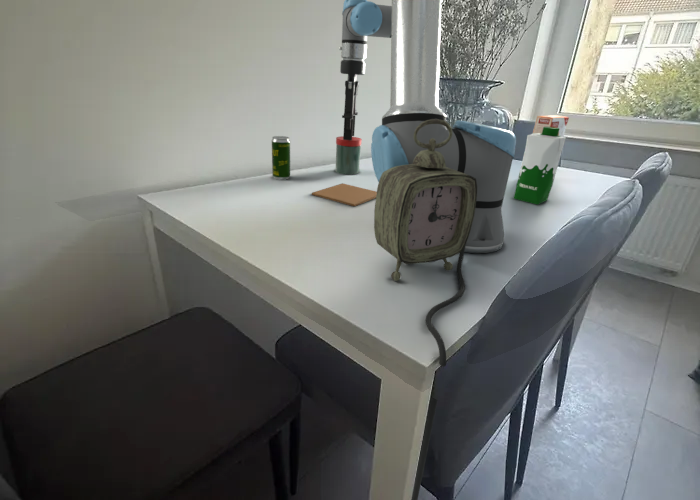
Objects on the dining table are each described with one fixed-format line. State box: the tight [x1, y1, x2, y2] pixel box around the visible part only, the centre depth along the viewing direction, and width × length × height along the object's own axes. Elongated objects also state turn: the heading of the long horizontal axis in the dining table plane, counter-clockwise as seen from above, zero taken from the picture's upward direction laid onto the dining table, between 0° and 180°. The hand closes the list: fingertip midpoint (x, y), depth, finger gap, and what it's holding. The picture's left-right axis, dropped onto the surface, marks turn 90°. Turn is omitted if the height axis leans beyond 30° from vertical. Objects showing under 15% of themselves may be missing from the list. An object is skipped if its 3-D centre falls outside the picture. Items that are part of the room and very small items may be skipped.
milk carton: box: [513, 127, 567, 206], centre depth 109 cm, size 9×9×20 cm
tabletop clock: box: [373, 119, 477, 282], centre depth 63 cm, size 14×9×25 cm, turn 115°
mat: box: [311, 182, 377, 207], centre depth 106 cm, size 14×14×1 cm
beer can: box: [271, 135, 291, 181], centre depth 117 cm, size 5×5×12 cm
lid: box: [335, 135, 363, 146], centre depth 127 cm, size 8×8×2 cm
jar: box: [334, 143, 362, 176], centre depth 129 cm, size 8×8×10 cm
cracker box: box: [532, 114, 570, 137], centre depth 137 cm, size 14×6×21 cm, turn 132°
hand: (348, 137), depth 127 cm, fingers open, 8 cm apart
